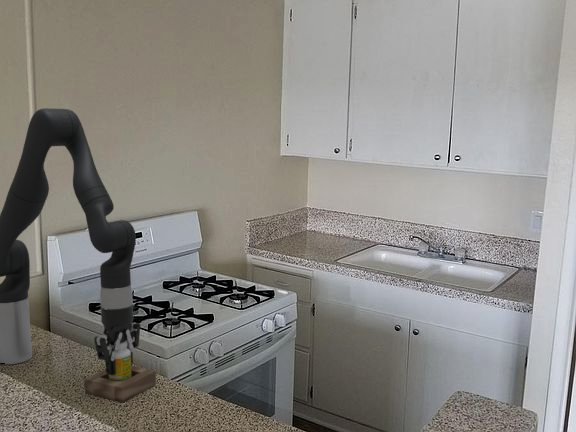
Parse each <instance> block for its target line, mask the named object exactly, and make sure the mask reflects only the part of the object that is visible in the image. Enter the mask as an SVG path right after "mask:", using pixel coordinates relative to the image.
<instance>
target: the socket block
mask: <svg viewBox="0 0 576 432" xmlns="http://www.w3.org/2000/svg"><path fill="white" fill-rule="evenodd" d="M131 374H132V377H131V378H129V379H127V380H125V381H123V382H117V381H113V380H109V375H108V374H107V373H106V368H105V369H103V370H101V371H98V372H96V373H94V374H92V375H90V376H87V377H85V378H84V380H83V381H84V394H87V395H90V396H95V397H98V398H102V399H106V400H111V401H113V402H114V401H115V402H119V403H125V402H127V401H129V400H131V399H132V398H134V397H136V396H138V395H140V394H141V393H143V392H145V391H147V390H149V389H151V388H152V387H154V386H156V385H157V381H156V379H157V375H156V374H157V373H156V370H153V369H148V368H144V367H139V366H134V365H132V366H131Z"/></svg>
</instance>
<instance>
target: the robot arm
mask: <svg viewBox="0 0 576 432" xmlns="http://www.w3.org/2000/svg"><path fill="white" fill-rule="evenodd" d="M30 118H31V119H30V121H29V124H28V127H27V131H26V136H25V140H24V143H23V147H22V152H21V155H20V159H19V162H18V164H17V165H18V166H17V168H16V171H15V173H14V177H13V179H12V181H11V183H10V187H9V189H8V192H7V194H6V199H5V201H4V203H3V207H2V210H1V211H0V278H2V277H5V278H4V279H3V280H2V281H1V283H0V362H1V363H5V364H4V365H16V364H21V363H24V362H27V361H29V360H31V359H32V358H33V349H32V335H31V334H32V332H31V319H30V318H31V317H30V307H29V305H30V303H29V290H30V286H31V285H30V284H31V282H30V281H31V280H30V279H31V278H30V277H31V276H30V275H31V273H30V272H31V271H30V270H31V268H30V267H31V265H30V264H31V263H30V262H31V261H30V253H29V250H28V247H27V246H26V243H24V241H22V240H19V239H18V238H19V236H20V235H21V234H23V232H24V231H25V230H27V229H28V227H30V226H31V225H32V223H34V221H36V220H37V219H38V217H39V216H40V215H41V213H42V211H43V209H44V206H45V203H46V202H47V201H46V200H47V199H48V196H49V191H50V185H49V181H48V178H47V174H46V171H45V161H46V158H47V155H48V153H49V151H50V149H51V148H52V147H65V148H66V150H67V152H68V153H69V154H70V156H71V159H72V163H73V173H72V174H73V175H72V188H73V191H74V195H75V196H76V199H77V202H78V203H79V205H80V207H81V209H82V211H83V212H84V214H85V219H86V220H85V221H86V224H87V229H88V235H89V240H90V243H91V244H92V247H94V249H95V250H97V251H98V252H100V253H102V254H108V253H111V255H110V257H109V258H108V259H107V260H104V262H102V263H101V264H100V269H99V273H100V276H99V277H100V279H99V280H100V293H99V299H100V319H101V324H102V325H103V326H104V329H103V332H102V333H103V334H102V335H100V336H95V337H94V339H93V341H94V345H95V350H96V356H97V359H98V360H102V361H105V369H106V373H107V374H108V375H115V374H116V369H115V360H114V359H115V354H116V351H118V348H119V344H120V343H122V342H124V341H127V348H128V349H129V350H130V352H131V366H133V362H134V356H133V354H134V353H133V352H134V350H135V348H138V347H139V345H140V336H141V335H140V333H141V323H139V322H135V321H134V303H133V289H132V283H131V277H132V276H131V267H132V266H131V265H132V261H133V257H134V252H135V247H136V243H137V242H136V240H137V237H136V234H137V233H136V231H135V227H134V226H133V225H132V224H131V222H129V221H128V220H124V219H120V220H115V221H110V222H109V221H108V220H107V218H106V217H107V216H108V215H110V214H111V213H112V212H114V211H113V210H114V202H113V200H112V198H111V196H110V194H109V193H108V190H107V188H106V187H105V186H106V185H105V184H104V183H103V181H102V179H101V177H100V175H99V172H98V170H97V167H96V163H95V160H94V158H93V155H92V151H91V149H90V146H89V143H88V139H87V136H86V133H85V130H84V127H83V124H82V121H81V120H80V118H79V116H78V115H77V114H76V112H74V111H73V110H72V109H69V108H68V109H67V108H46V107H45V108H40V109H38V110H36V111H34V113H33V114H32V116H31V117H30ZM133 321H134V322H133ZM110 345H114V347H110ZM110 350H111V355H109V352H110Z"/></svg>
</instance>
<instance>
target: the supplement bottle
mask: <svg viewBox="0 0 576 432" xmlns="http://www.w3.org/2000/svg"><path fill="white" fill-rule="evenodd" d="M110 347H114V345H110ZM109 355H111V350H110V352H109ZM114 360H115V369H116V374H115V375H109V380H113V381H117V382H123V381H125V380H127V379H129V378H131V377H132V374H131V352H130V350H129V349H128V348H127V341H124V342H122V343H120V344H119V348H118V351H116V354H115V359H114Z"/></svg>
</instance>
